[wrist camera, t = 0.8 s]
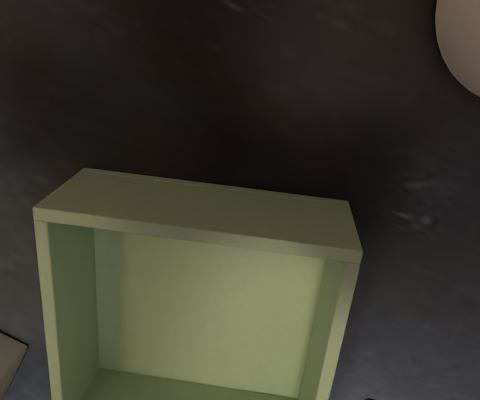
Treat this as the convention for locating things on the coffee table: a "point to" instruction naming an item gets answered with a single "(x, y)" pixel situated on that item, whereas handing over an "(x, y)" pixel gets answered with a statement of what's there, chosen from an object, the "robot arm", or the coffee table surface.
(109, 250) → the open storage box
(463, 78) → the mug
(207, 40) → the coffee table surface
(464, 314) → the coffee table surface
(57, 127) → the coffee table surface
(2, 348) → the small box
